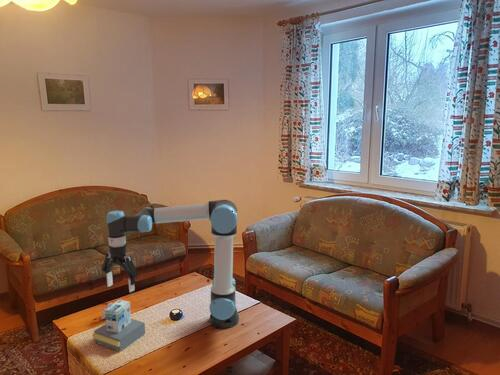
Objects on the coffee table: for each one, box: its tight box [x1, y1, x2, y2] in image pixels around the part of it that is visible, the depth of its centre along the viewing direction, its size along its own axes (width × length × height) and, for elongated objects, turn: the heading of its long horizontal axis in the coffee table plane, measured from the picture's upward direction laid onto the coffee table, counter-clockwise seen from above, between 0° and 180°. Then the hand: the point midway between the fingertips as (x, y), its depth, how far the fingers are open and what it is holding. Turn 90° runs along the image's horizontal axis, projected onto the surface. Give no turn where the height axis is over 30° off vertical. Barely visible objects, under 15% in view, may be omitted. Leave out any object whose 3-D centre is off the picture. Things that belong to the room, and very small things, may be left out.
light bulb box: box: [104, 299, 132, 333], centre depth 178 cm, size 11×7×11 cm, turn 164°
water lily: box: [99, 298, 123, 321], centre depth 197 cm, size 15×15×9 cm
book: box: [92, 318, 146, 352], centre depth 179 cm, size 16×17×6 cm
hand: (120, 288), depth 177 cm, fingers open, 13 cm apart
